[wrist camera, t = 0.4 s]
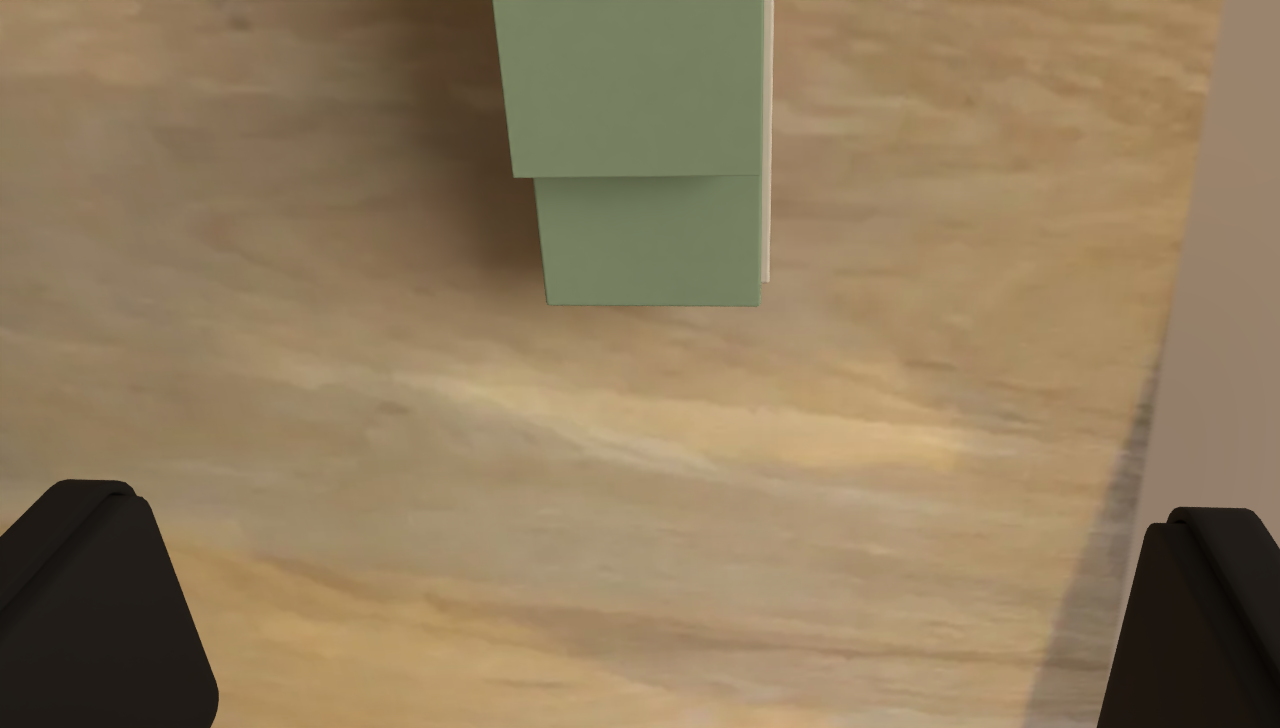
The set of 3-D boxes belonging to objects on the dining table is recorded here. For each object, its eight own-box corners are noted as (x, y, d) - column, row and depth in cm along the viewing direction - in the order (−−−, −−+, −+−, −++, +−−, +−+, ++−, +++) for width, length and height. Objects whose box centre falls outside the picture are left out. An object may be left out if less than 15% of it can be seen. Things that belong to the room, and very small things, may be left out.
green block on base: (504, -350, 24) (432, -380, 19) (779, -370, 23) (782, -408, 18) (563, 263, 32) (524, 357, 27) (769, 263, 31) (769, 360, 26)
